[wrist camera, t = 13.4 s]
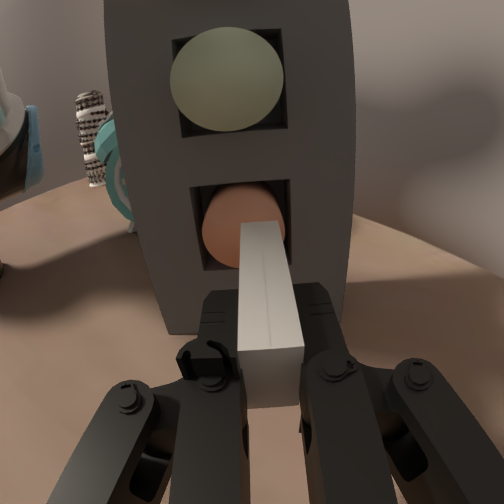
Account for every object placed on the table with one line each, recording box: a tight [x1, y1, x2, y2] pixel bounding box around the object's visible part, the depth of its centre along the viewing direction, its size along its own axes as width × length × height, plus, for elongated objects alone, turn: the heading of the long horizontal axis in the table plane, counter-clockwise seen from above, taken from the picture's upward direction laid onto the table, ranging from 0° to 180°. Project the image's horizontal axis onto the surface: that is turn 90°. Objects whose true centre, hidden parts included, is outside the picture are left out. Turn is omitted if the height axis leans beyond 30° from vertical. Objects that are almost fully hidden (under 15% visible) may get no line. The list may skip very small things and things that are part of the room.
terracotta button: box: [202, 181, 285, 268], centre depth 20 cm, size 4×5×5 cm
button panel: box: [104, 0, 356, 334], centre depth 17 cm, size 6×14×33 cm, turn 91°
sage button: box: [170, 27, 283, 131], centre depth 13 cm, size 4×5×5 cm
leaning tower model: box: [75, 90, 108, 187], centre depth 65 cm, size 9×9×25 cm
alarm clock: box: [94, 111, 137, 233], centre depth 39 cm, size 17×10×20 cm, turn 99°
